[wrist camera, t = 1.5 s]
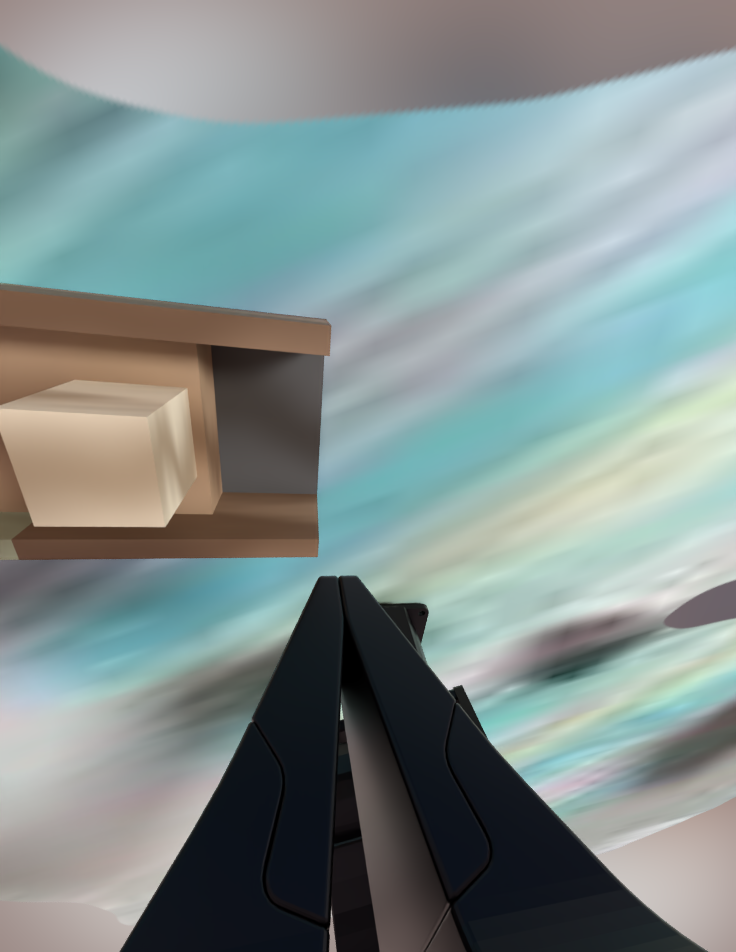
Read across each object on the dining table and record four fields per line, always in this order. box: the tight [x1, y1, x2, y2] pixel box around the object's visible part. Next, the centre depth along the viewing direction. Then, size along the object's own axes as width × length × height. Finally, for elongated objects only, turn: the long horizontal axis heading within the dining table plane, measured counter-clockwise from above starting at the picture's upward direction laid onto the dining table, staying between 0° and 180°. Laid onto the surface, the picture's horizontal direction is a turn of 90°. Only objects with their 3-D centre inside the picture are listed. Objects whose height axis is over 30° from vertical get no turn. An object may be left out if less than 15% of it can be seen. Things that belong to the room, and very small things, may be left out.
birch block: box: [0, 380, 197, 527], centre depth 13 cm, size 4×4×4 cm
